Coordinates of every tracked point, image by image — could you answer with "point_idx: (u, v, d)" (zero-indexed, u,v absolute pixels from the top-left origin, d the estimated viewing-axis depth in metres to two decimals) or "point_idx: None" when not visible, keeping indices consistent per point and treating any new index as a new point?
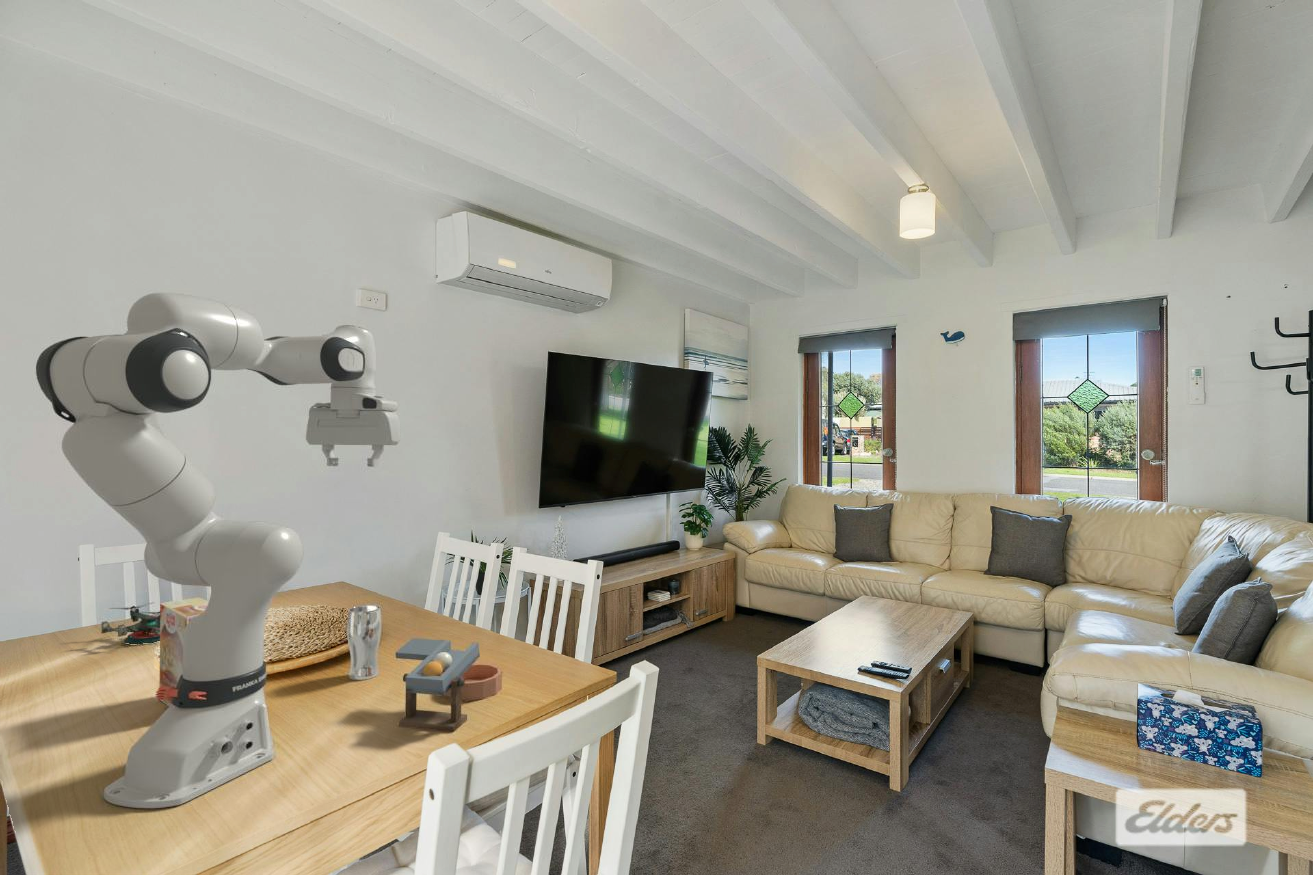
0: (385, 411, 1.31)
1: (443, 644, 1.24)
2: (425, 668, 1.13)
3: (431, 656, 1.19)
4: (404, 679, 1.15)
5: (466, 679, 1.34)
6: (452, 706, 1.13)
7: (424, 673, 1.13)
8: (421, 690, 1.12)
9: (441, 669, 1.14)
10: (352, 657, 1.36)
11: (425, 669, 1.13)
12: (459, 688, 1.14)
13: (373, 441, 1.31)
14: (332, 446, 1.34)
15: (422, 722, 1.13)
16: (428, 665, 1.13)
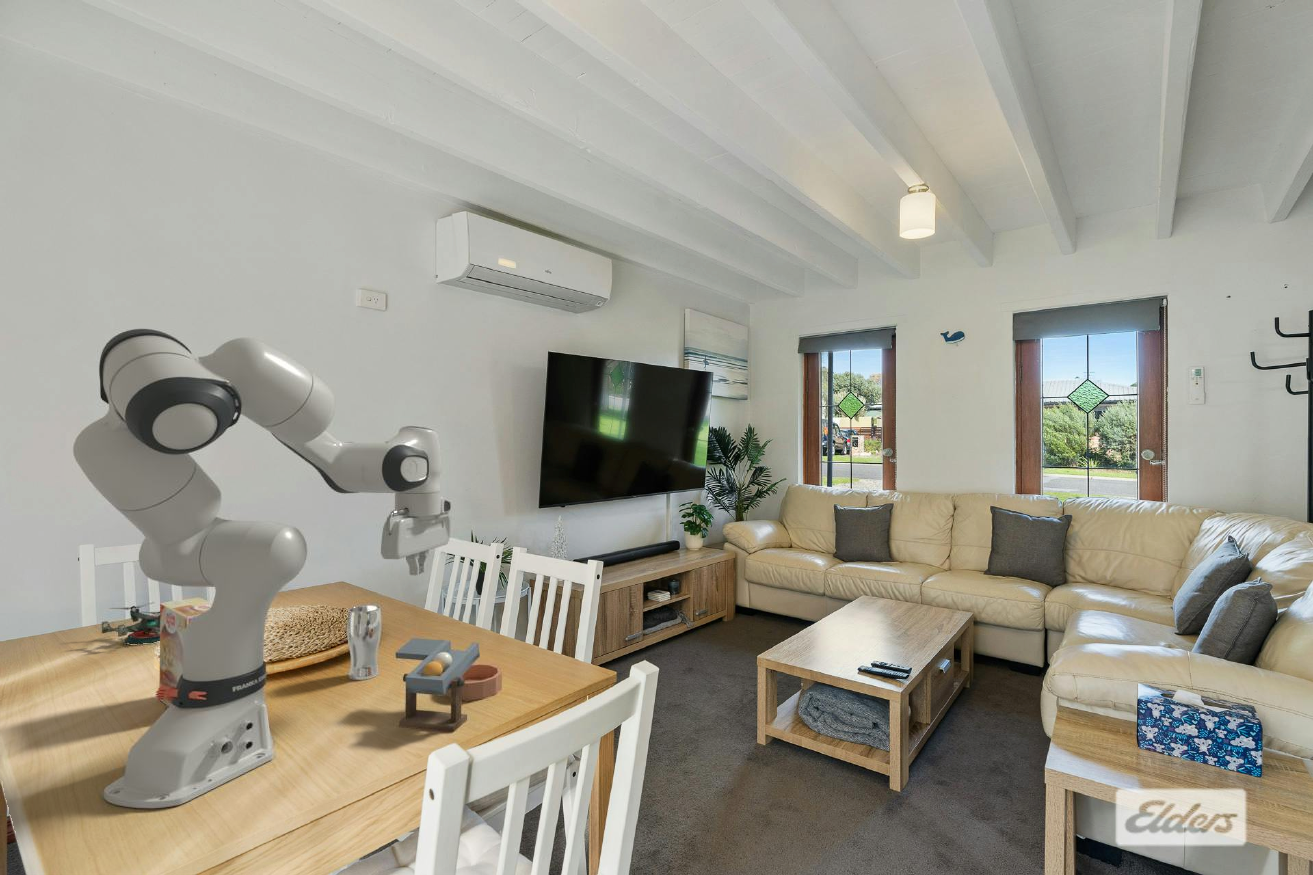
0: None
1: (443, 644, 1.24)
2: (425, 668, 1.13)
3: (431, 656, 1.19)
4: (404, 679, 1.15)
5: (466, 679, 1.34)
6: (452, 706, 1.13)
7: (424, 673, 1.13)
8: (421, 690, 1.12)
9: (441, 669, 1.14)
10: (352, 657, 1.36)
11: (425, 669, 1.13)
12: (459, 688, 1.14)
13: (440, 543, 1.31)
14: None
15: (422, 722, 1.13)
16: (428, 665, 1.13)
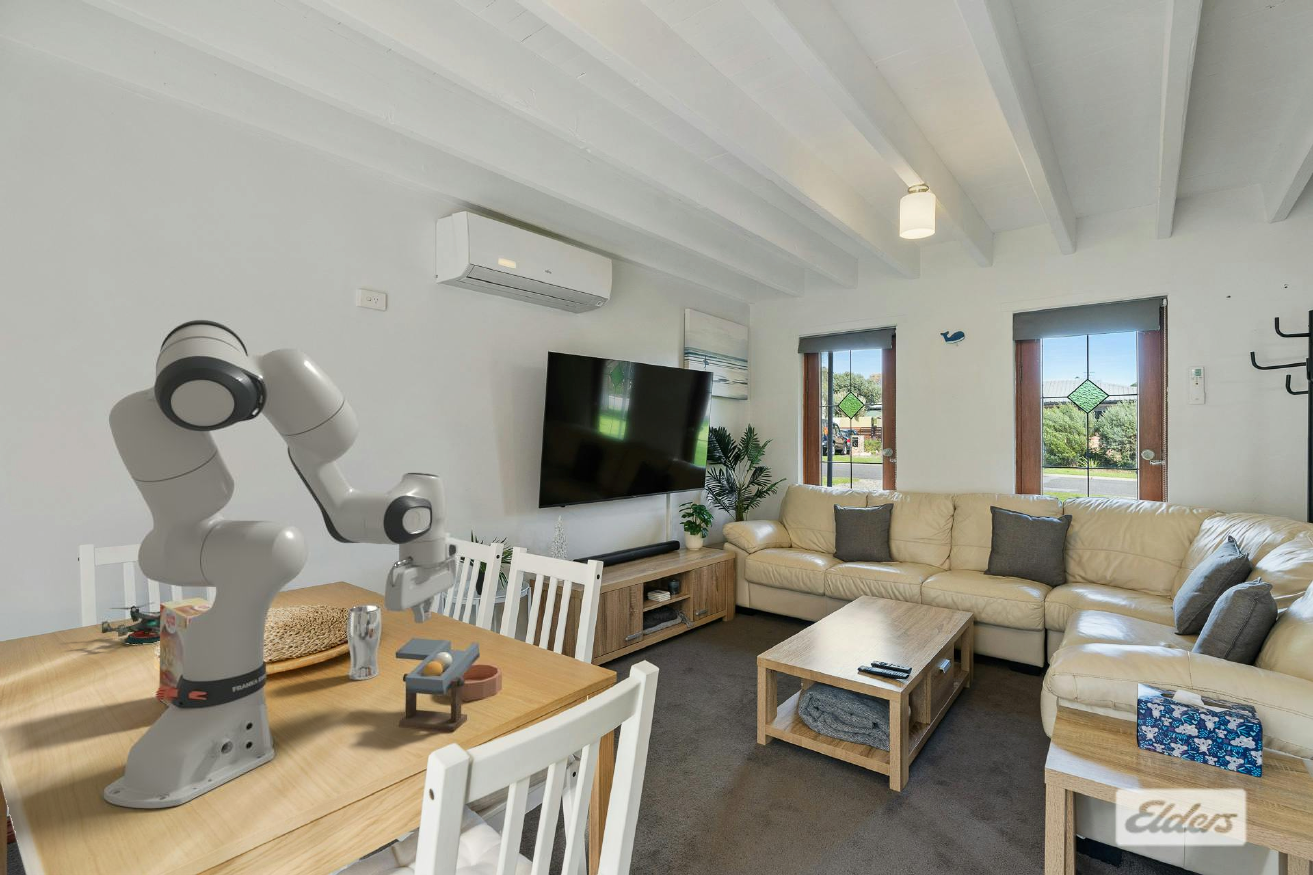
0: None
1: (443, 644, 1.24)
2: (425, 668, 1.13)
3: (431, 656, 1.19)
4: (404, 679, 1.15)
5: (466, 679, 1.34)
6: (452, 706, 1.13)
7: (424, 673, 1.13)
8: (421, 690, 1.12)
9: (441, 669, 1.14)
10: (352, 657, 1.36)
11: (425, 669, 1.13)
12: (459, 688, 1.14)
13: (446, 587, 1.30)
14: None
15: (422, 722, 1.13)
16: (428, 665, 1.13)
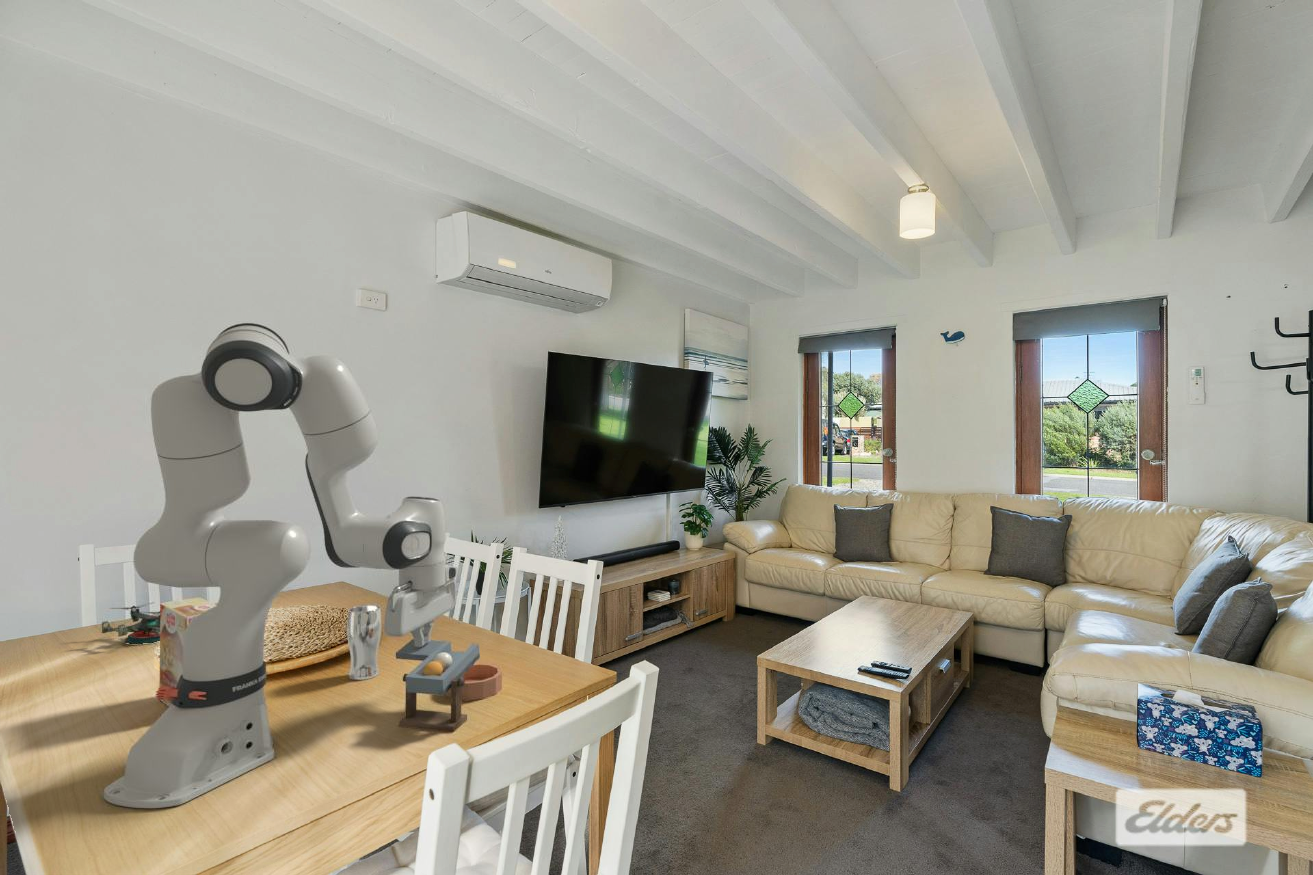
0: None
1: (443, 645, 1.24)
2: (425, 668, 1.13)
3: (431, 656, 1.19)
4: (404, 679, 1.15)
5: (466, 679, 1.34)
6: (452, 706, 1.13)
7: (424, 673, 1.13)
8: (421, 690, 1.12)
9: (441, 669, 1.14)
10: (352, 657, 1.36)
11: (425, 669, 1.13)
12: (459, 688, 1.14)
13: (446, 610, 1.29)
14: None
15: (422, 722, 1.13)
16: (428, 665, 1.13)
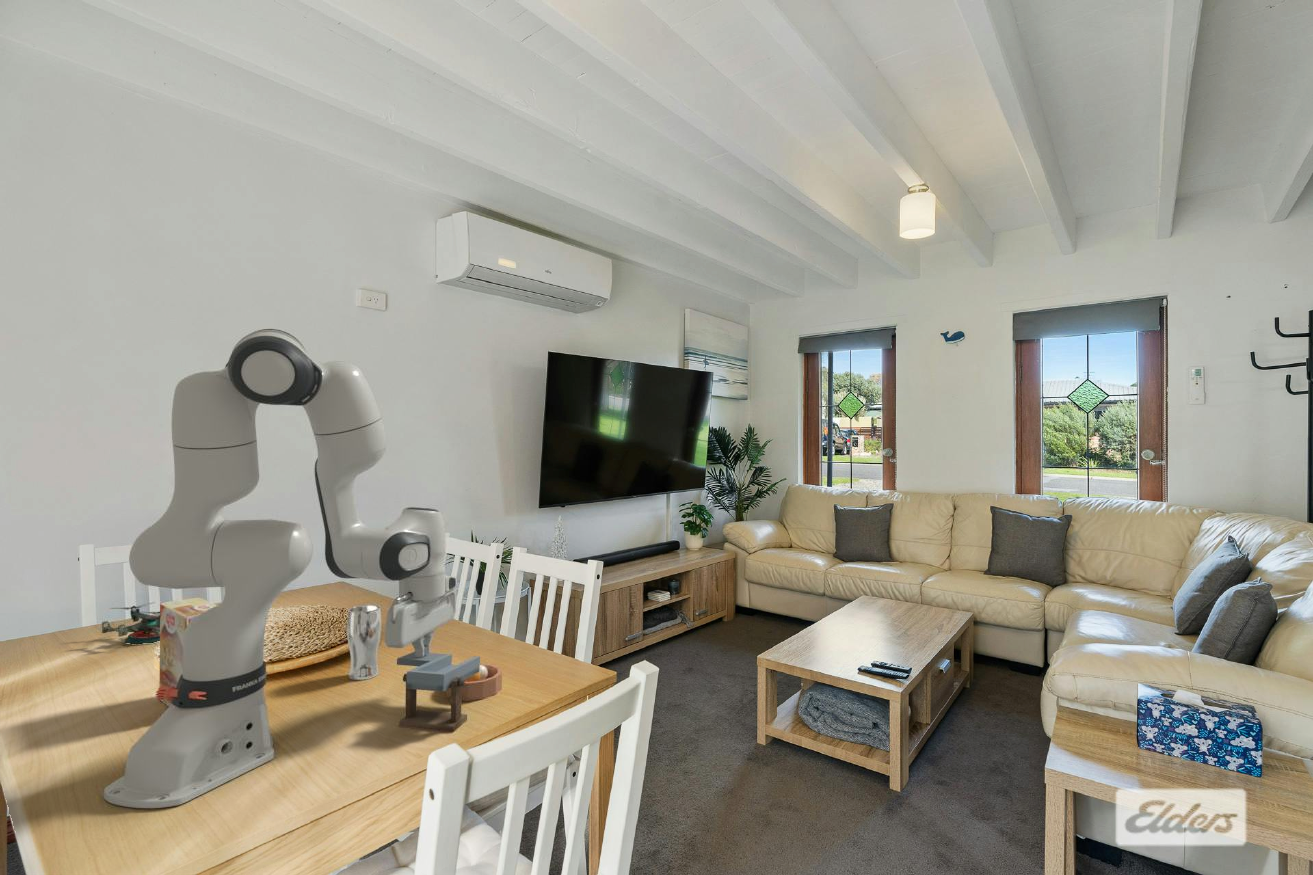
0: None
1: (445, 656, 1.24)
2: None
3: (433, 661, 1.20)
4: (404, 679, 1.15)
5: None
6: (452, 706, 1.13)
7: None
8: (421, 686, 1.12)
9: (479, 675, 1.29)
10: (352, 657, 1.36)
11: None
12: (459, 688, 1.14)
13: (446, 620, 1.30)
14: None
15: (422, 722, 1.13)
16: None
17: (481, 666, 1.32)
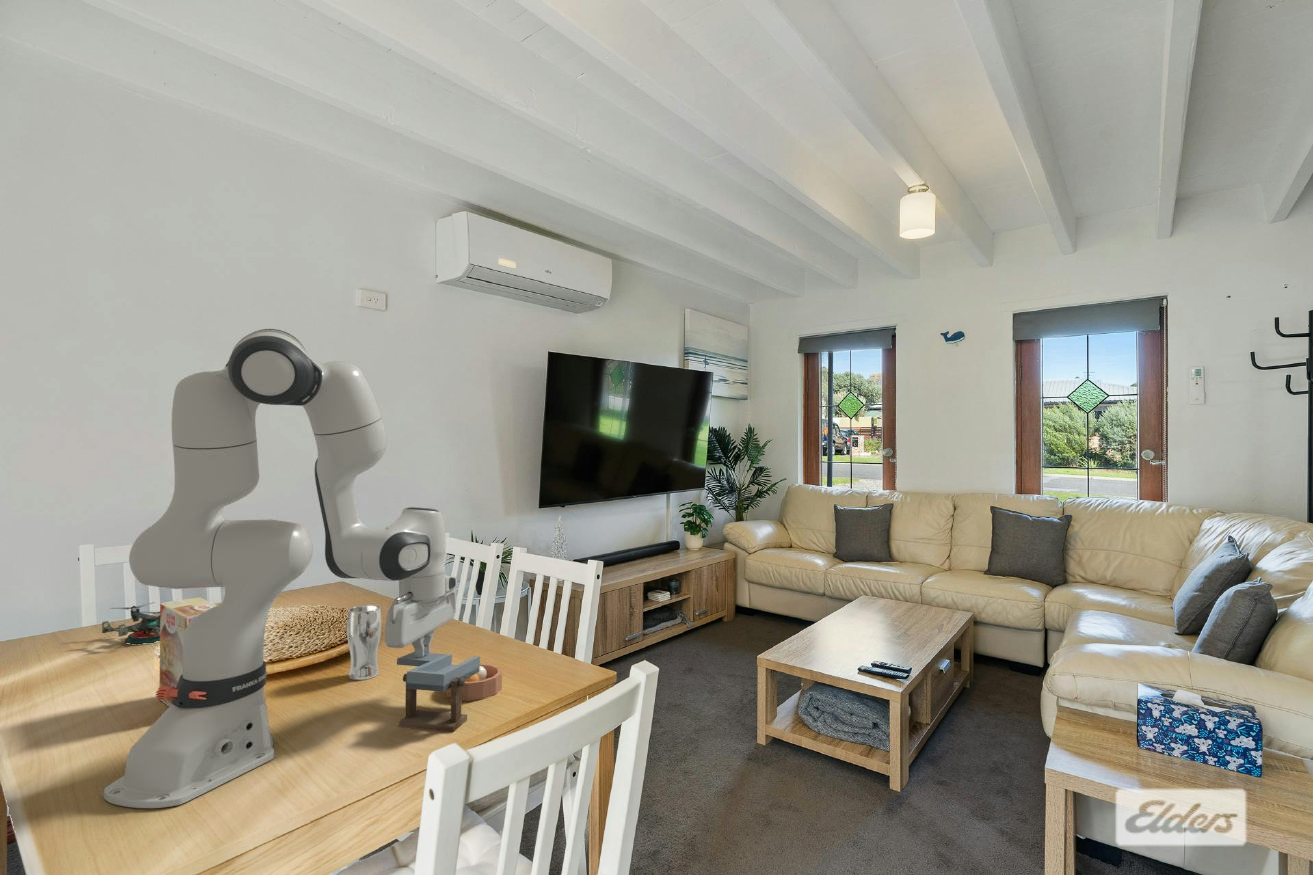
0: None
1: (445, 656, 1.24)
2: None
3: (433, 661, 1.20)
4: (404, 679, 1.15)
5: None
6: (452, 706, 1.13)
7: None
8: (421, 686, 1.12)
9: (477, 678, 1.28)
10: (352, 657, 1.36)
11: None
12: (459, 688, 1.14)
13: (446, 620, 1.30)
14: None
15: (422, 722, 1.13)
16: None
17: (479, 668, 1.31)
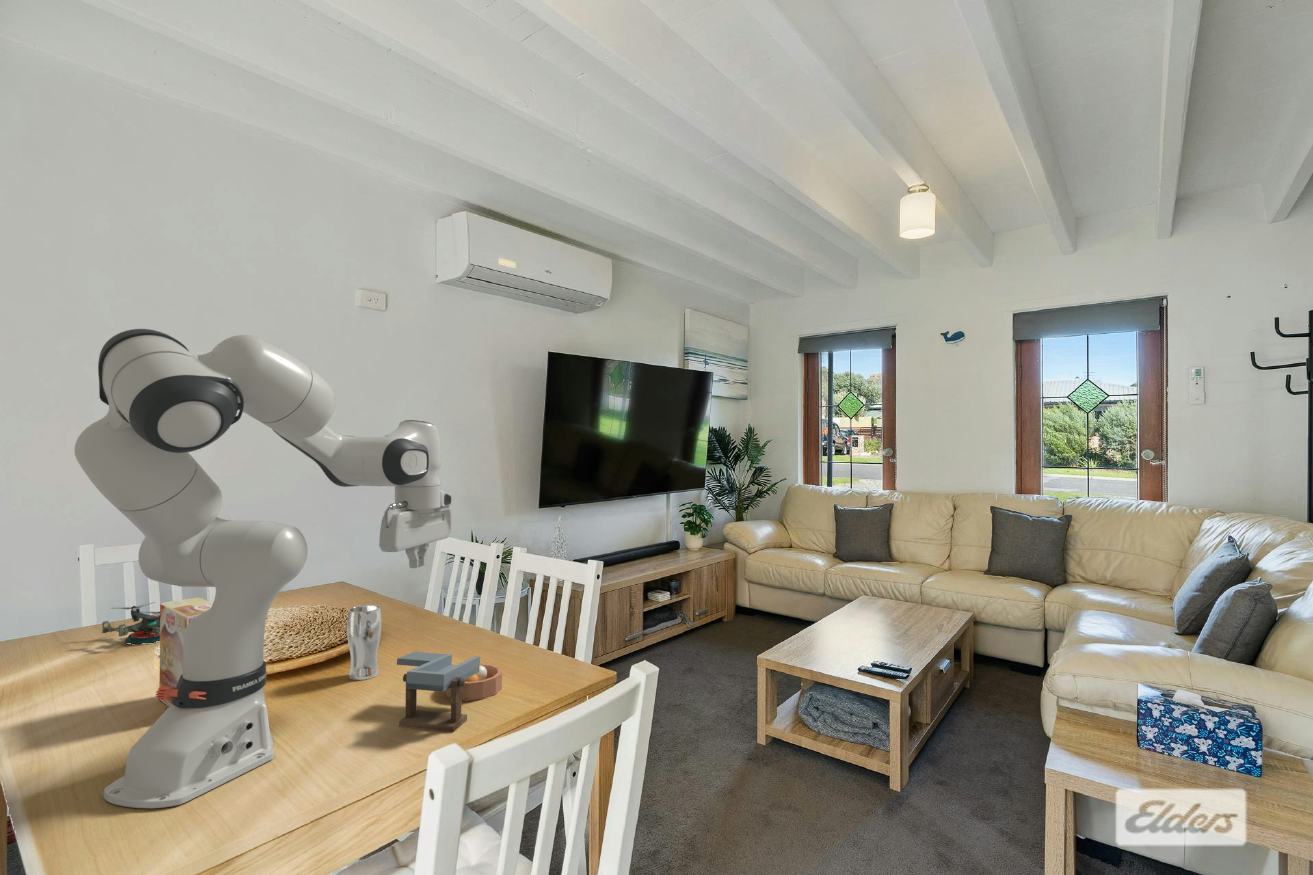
0: None
1: (445, 656, 1.24)
2: None
3: (433, 661, 1.20)
4: (404, 679, 1.15)
5: None
6: (452, 706, 1.13)
7: None
8: (421, 686, 1.12)
9: (477, 679, 1.28)
10: (352, 657, 1.36)
11: None
12: (459, 688, 1.14)
13: (441, 536, 1.32)
14: None
15: (422, 722, 1.13)
16: None
17: (480, 667, 1.32)
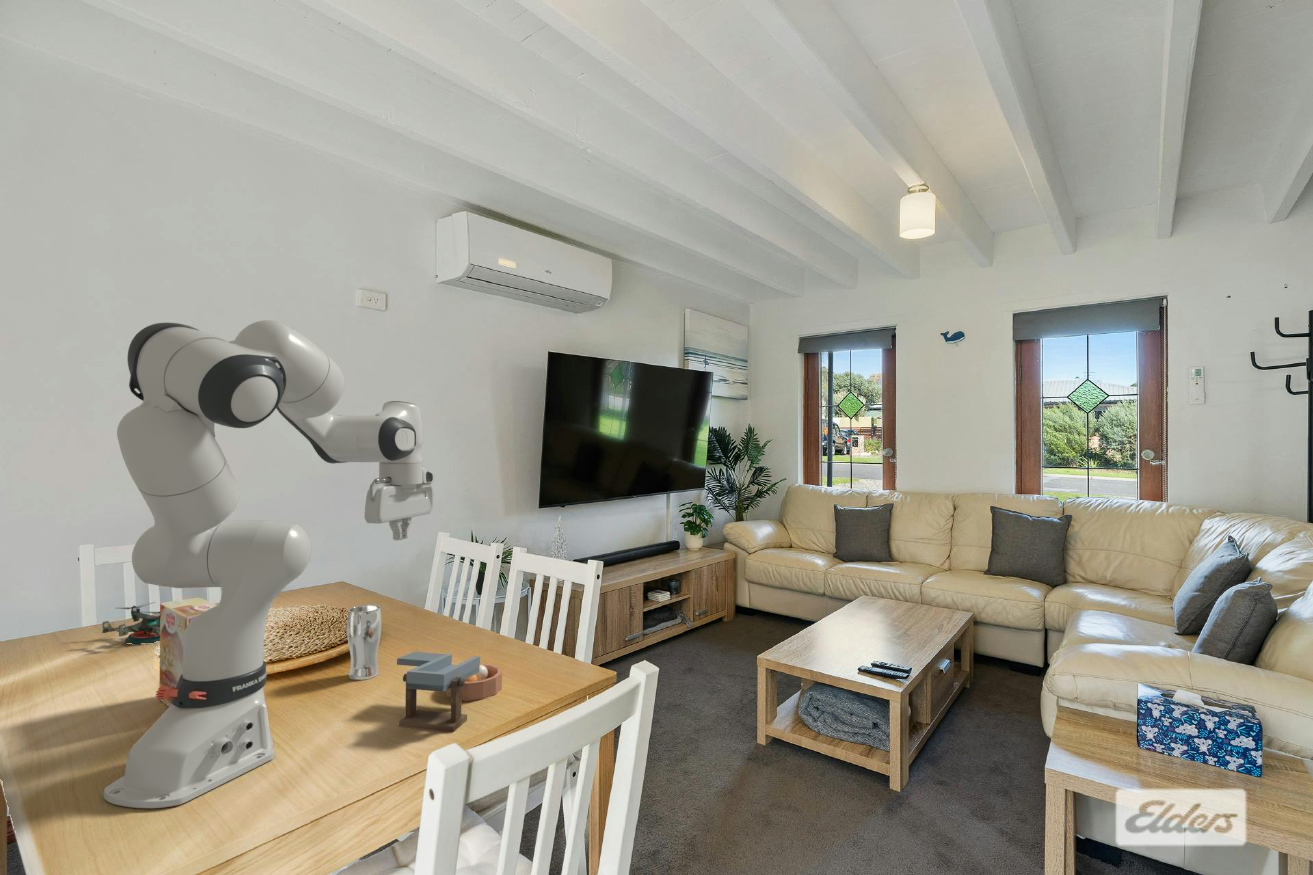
0: None
1: (445, 656, 1.24)
2: None
3: (433, 661, 1.20)
4: (404, 679, 1.15)
5: None
6: (452, 706, 1.13)
7: None
8: (421, 686, 1.12)
9: (476, 679, 1.28)
10: (352, 657, 1.36)
11: None
12: (459, 688, 1.14)
13: (423, 511, 1.40)
14: None
15: (422, 722, 1.13)
16: None
17: (481, 666, 1.32)
